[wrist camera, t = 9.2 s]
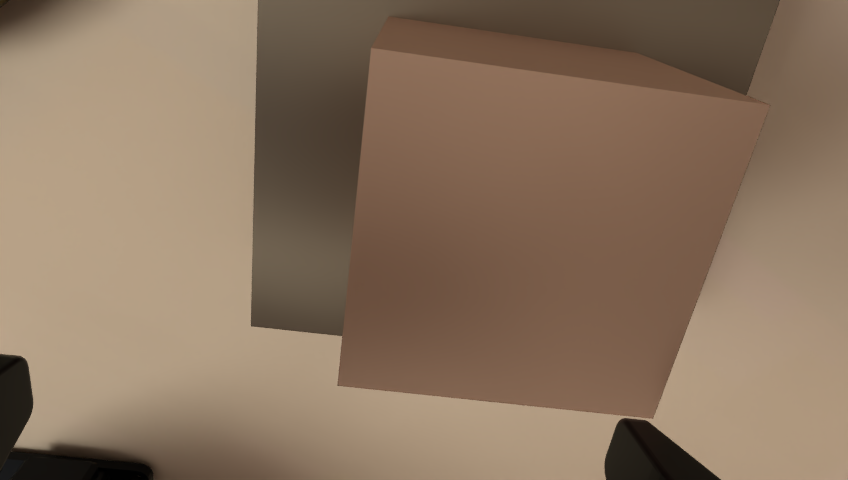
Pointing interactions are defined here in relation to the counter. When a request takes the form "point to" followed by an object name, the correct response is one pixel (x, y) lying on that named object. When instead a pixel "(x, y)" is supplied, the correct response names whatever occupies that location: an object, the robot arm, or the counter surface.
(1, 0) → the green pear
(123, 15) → the counter surface
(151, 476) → the robot arm
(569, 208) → the brown cube
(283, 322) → the walnut base
